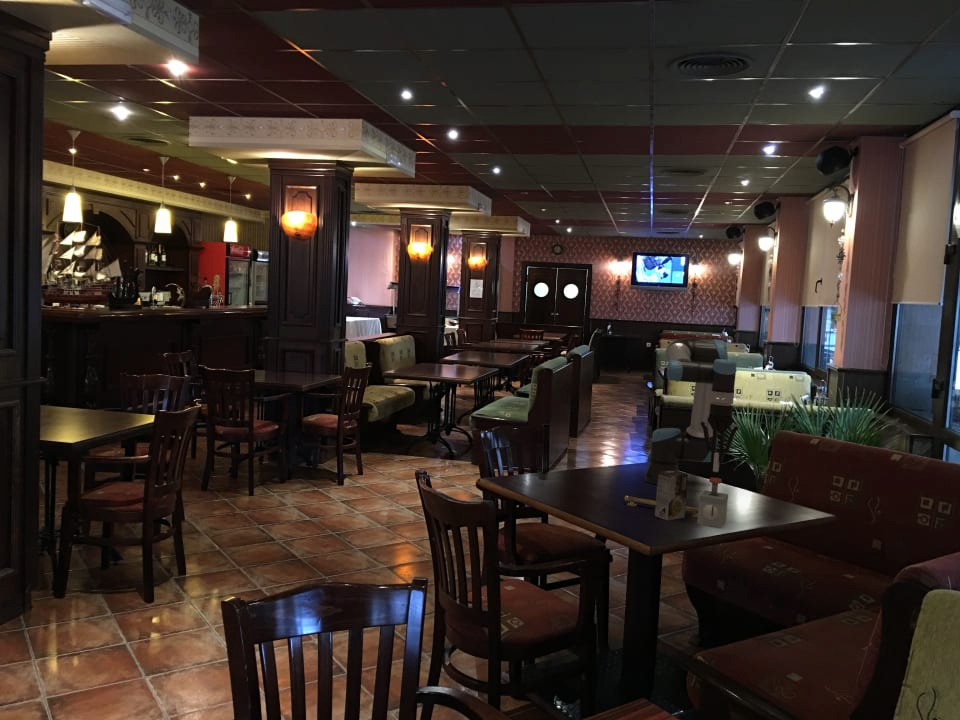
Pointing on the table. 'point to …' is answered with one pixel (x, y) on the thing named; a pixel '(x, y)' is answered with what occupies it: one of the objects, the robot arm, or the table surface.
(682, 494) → the coffee box
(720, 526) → the cabinet
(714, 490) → the plunger
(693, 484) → the table surface
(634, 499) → the rail
